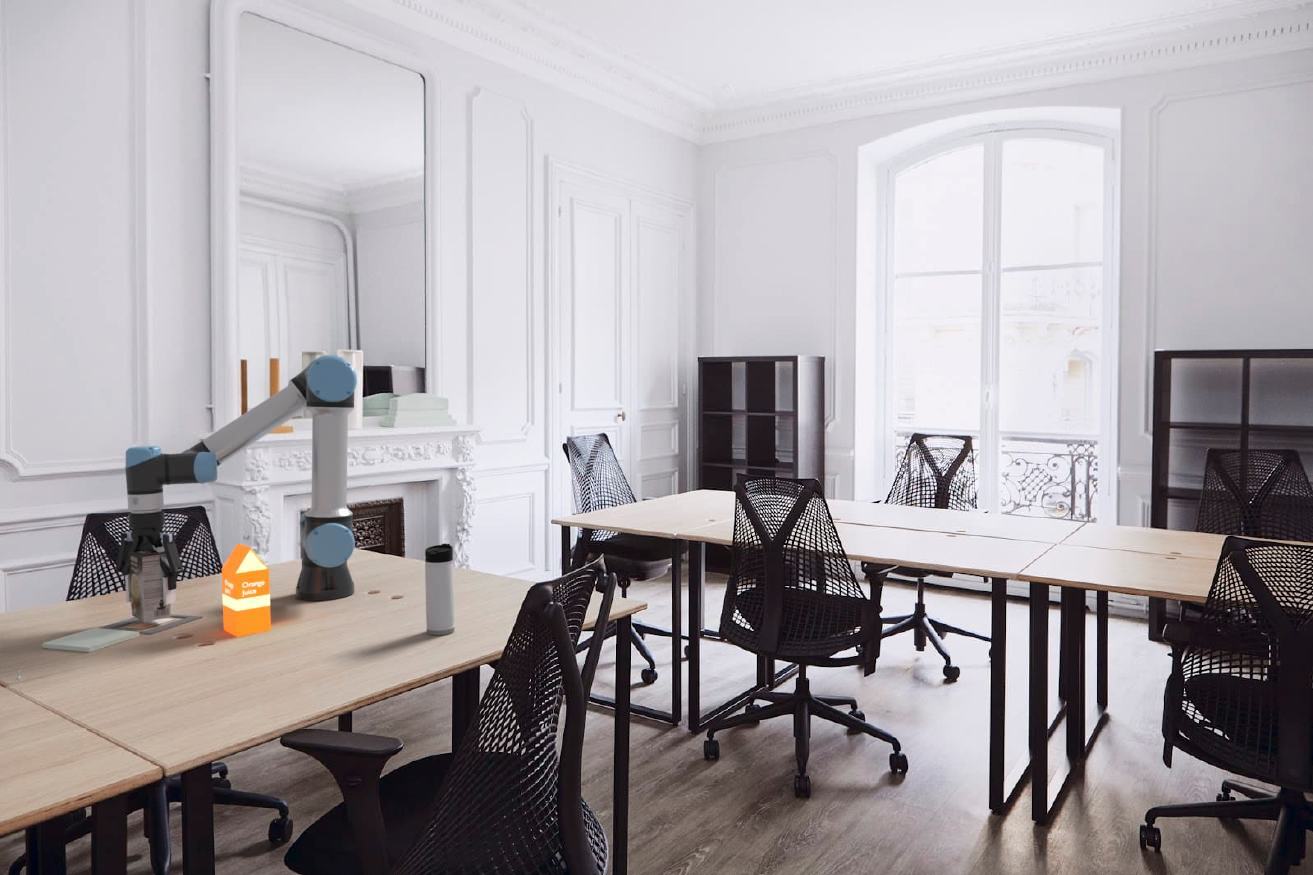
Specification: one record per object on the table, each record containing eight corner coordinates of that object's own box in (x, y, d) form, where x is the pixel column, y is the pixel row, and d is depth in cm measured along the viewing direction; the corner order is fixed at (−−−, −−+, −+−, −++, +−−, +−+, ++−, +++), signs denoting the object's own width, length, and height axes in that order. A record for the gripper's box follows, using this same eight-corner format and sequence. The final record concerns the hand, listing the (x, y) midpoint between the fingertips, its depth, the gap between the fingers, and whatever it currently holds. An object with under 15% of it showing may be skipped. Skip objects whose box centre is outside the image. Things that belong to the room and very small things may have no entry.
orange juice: (257, 623, 216) (254, 541, 215) (271, 630, 209) (268, 545, 208) (222, 630, 210) (219, 545, 209) (236, 637, 204) (233, 550, 203)
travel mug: (460, 629, 209) (458, 544, 208) (445, 636, 203) (443, 549, 202) (437, 627, 211) (435, 542, 210) (421, 634, 205) (419, 547, 204)
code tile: (202, 617, 221) (202, 616, 221) (151, 634, 207) (151, 633, 207) (149, 613, 226) (149, 612, 226) (96, 629, 211) (96, 628, 211)
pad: (139, 636, 205) (139, 631, 205) (89, 652, 193) (89, 647, 193) (94, 632, 209) (94, 628, 209) (42, 647, 196) (42, 643, 196)
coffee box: (130, 616, 217) (127, 550, 216) (159, 610, 222) (155, 546, 221) (143, 622, 211) (139, 555, 210) (172, 617, 215) (169, 550, 214)
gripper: (94, 512, 214) (99, 603, 216) (172, 514, 208) (177, 608, 209) (121, 507, 221) (126, 596, 223) (197, 509, 215) (202, 600, 216)
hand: (151, 602), depth 216 cm, fingers closed on coffee box, 10 cm apart
